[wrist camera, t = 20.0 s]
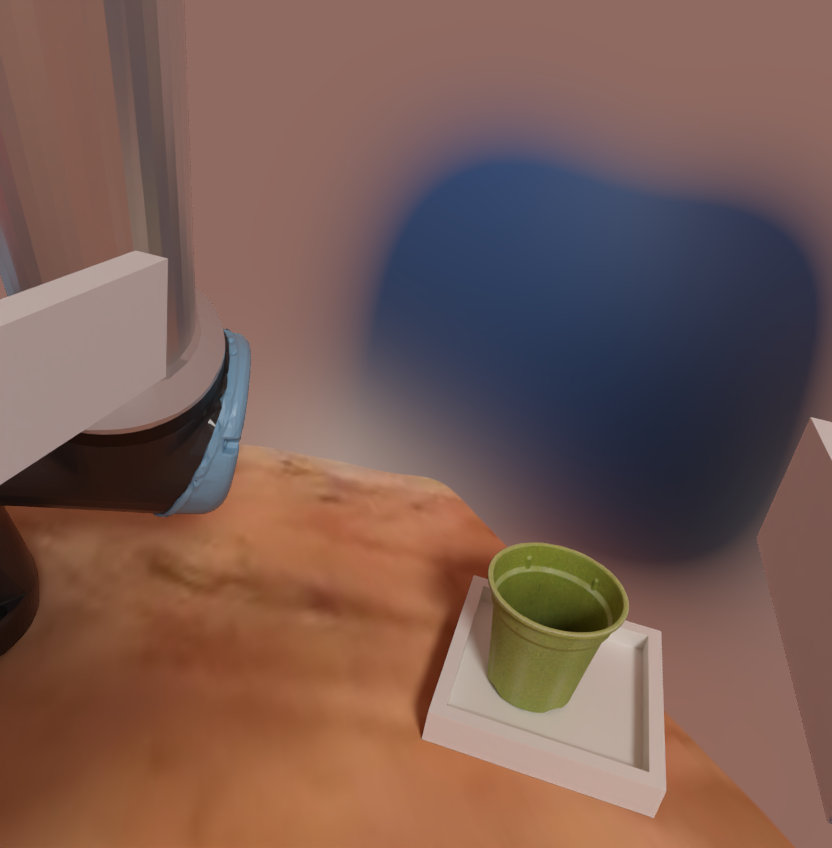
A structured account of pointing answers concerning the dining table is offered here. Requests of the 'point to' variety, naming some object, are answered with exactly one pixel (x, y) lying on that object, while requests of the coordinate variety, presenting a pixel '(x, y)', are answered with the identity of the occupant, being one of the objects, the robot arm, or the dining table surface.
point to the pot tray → (560, 714)
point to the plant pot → (548, 621)
